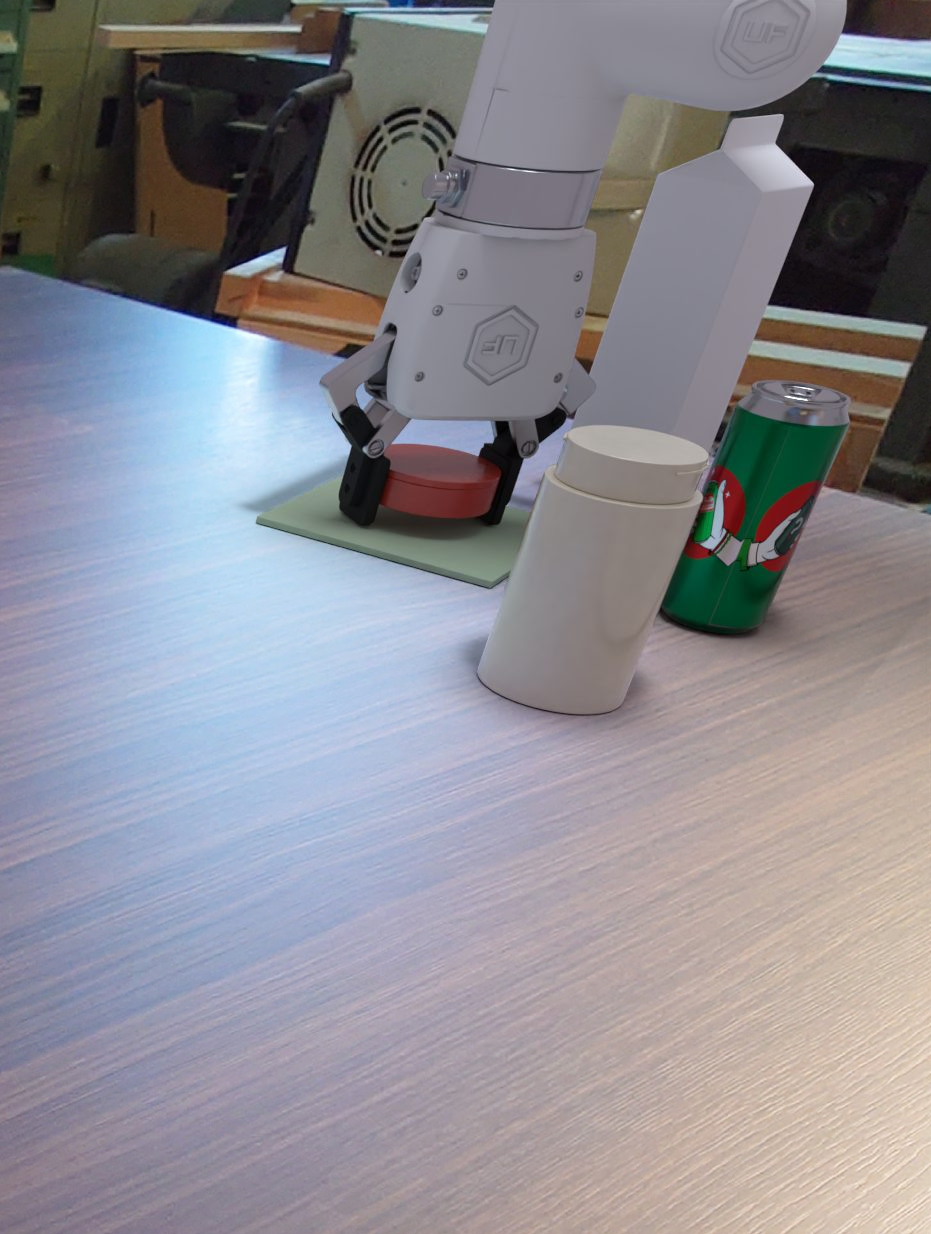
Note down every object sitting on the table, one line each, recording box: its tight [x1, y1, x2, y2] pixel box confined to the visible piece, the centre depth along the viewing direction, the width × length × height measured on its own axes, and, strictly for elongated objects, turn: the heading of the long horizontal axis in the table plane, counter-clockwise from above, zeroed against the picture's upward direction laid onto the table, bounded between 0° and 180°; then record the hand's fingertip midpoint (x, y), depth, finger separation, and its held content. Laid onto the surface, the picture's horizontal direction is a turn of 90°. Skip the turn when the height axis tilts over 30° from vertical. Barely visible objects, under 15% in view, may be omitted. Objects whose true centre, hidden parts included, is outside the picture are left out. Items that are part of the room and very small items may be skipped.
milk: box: [569, 113, 815, 455], centre depth 100 cm, size 6×6×22 cm
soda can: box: [661, 379, 852, 635], centre depth 87 cm, size 5×5×12 cm
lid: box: [379, 443, 501, 518], centre depth 99 cm, size 7×7×2 cm
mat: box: [255, 473, 531, 589], centre depth 101 cm, size 14×14×1 cm
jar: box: [476, 425, 710, 715], centre depth 79 cm, size 7×7×12 cm
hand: (418, 515), depth 101 cm, fingers closed on lid, 7 cm apart
